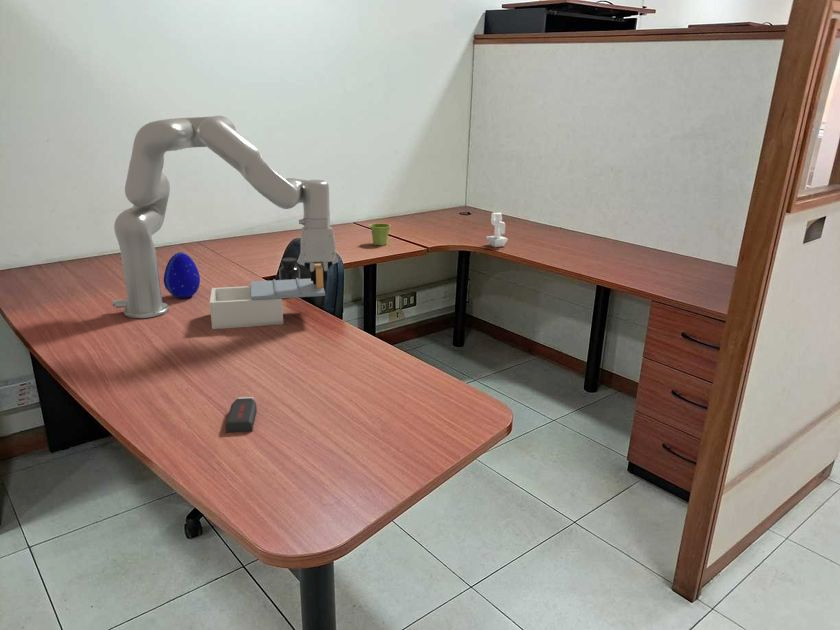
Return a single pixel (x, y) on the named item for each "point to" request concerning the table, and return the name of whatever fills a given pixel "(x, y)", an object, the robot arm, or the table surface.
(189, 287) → the ornament
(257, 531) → the table surface
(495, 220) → the figurine
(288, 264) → the supplement bottle
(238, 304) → the box
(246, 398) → the usb drive
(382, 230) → the plant pot
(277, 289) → the tub lid
